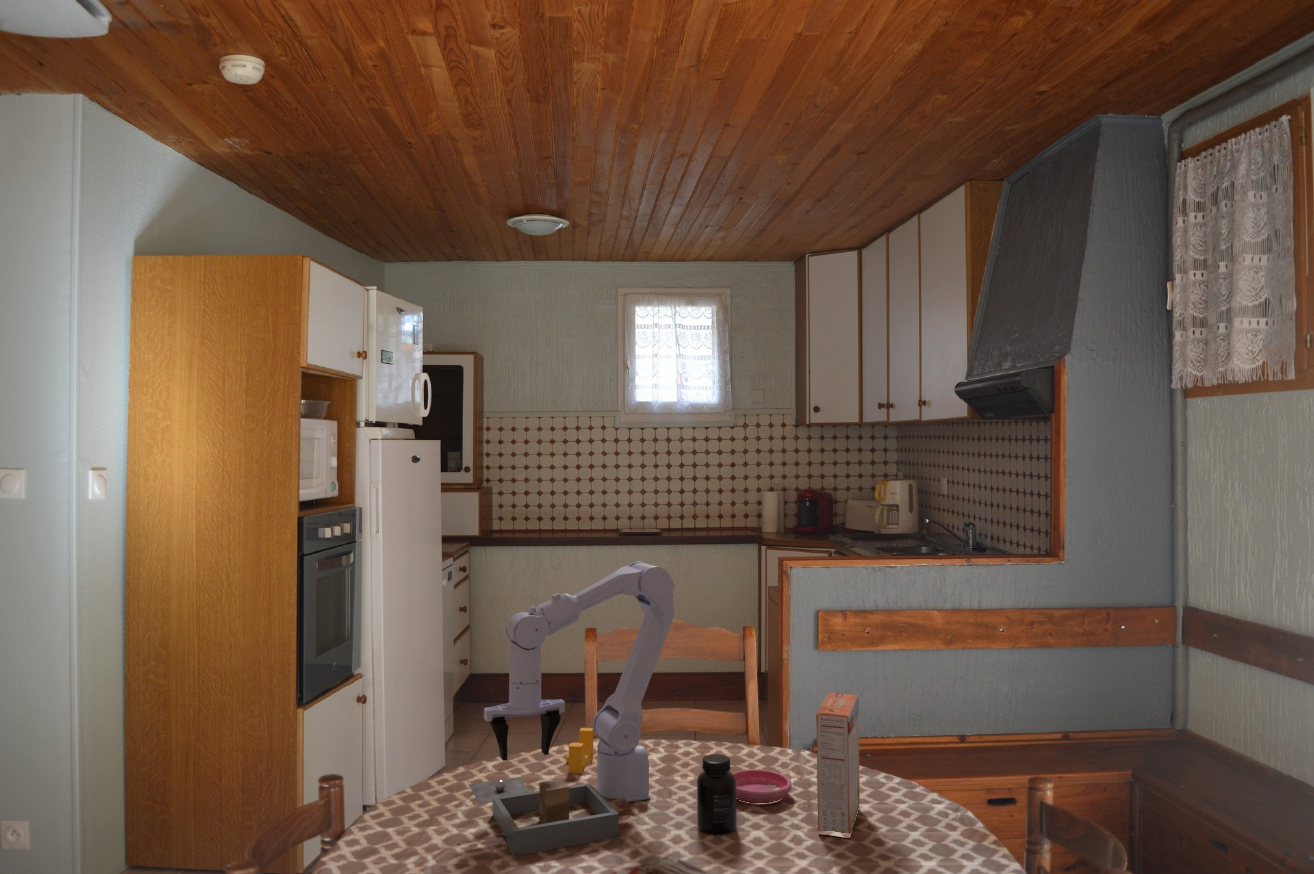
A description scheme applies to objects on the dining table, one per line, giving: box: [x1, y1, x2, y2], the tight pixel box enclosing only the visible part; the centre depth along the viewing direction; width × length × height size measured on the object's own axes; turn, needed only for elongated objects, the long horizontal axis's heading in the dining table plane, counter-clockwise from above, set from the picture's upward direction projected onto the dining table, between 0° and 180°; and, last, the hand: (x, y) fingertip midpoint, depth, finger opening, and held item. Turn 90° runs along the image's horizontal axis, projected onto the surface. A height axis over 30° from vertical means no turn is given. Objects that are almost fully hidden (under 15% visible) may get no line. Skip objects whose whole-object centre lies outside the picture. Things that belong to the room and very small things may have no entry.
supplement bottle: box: [696, 753, 738, 836], centre depth 153 cm, size 7×7×12 cm
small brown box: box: [538, 778, 570, 824], centre depth 153 cm, size 4×4×7 cm
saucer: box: [731, 768, 793, 803], centre depth 168 cm, size 12×12×3 cm
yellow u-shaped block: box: [565, 727, 594, 774], centre depth 182 cm, size 12×4×6 cm, turn 173°
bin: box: [492, 782, 620, 857], centre depth 152 cm, size 18×15×4 cm
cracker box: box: [815, 692, 861, 834], centre depth 156 cm, size 14×6×21 cm, turn 160°
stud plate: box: [468, 776, 531, 805], centre depth 167 cm, size 10×10×3 cm
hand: (524, 756), depth 160 cm, fingers open, 7 cm apart
